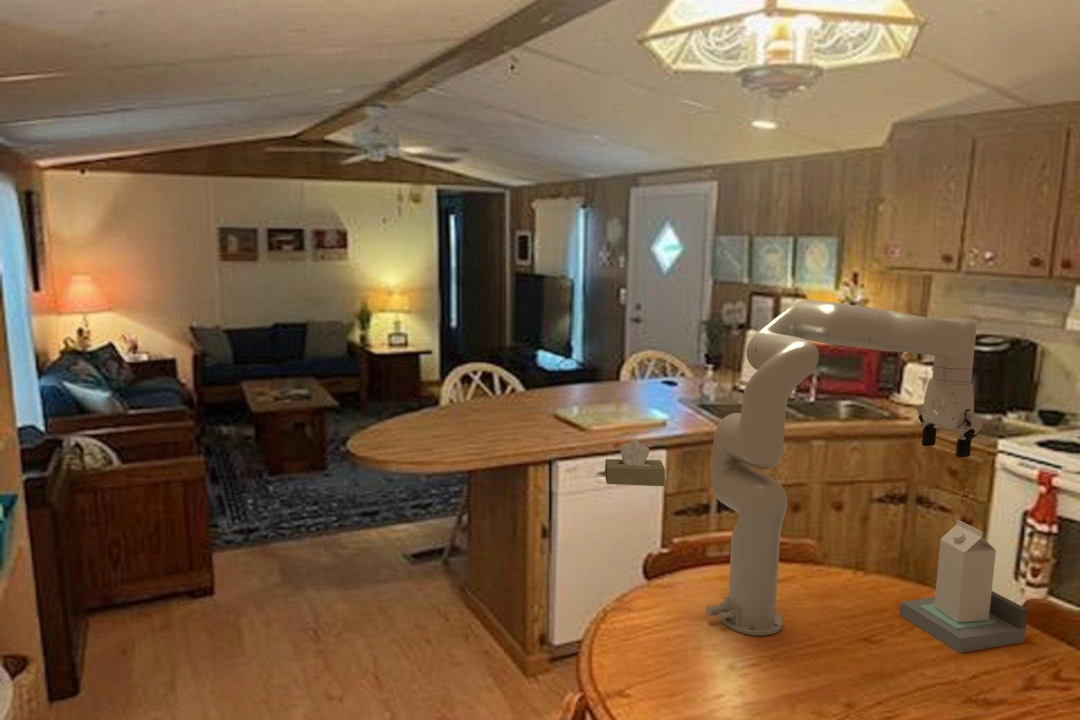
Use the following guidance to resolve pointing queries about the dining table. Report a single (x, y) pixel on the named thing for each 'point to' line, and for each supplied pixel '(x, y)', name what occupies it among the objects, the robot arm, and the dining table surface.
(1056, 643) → the dining table surface
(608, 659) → the dining table surface
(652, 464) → the tissue box
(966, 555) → the milk carton
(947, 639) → the plate
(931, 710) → the dining table surface
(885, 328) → the robot arm
